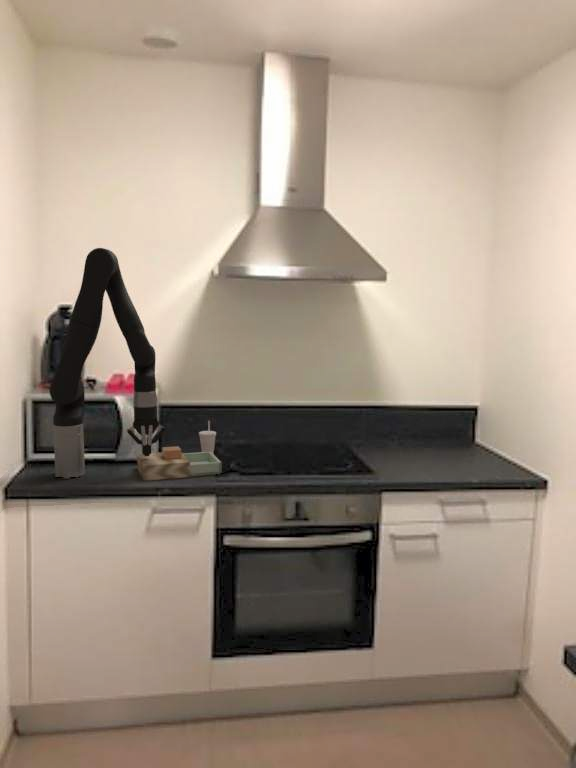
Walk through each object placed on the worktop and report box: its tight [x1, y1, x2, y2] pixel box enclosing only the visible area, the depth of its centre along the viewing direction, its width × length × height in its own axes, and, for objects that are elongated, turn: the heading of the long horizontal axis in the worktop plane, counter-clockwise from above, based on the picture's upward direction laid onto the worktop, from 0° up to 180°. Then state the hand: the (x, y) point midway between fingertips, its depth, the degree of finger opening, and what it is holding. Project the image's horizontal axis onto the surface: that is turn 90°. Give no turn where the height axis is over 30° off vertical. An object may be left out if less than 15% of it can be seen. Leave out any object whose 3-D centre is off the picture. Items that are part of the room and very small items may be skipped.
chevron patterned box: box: [136, 451, 191, 482], centre depth 217 cm, size 15×16×5 cm
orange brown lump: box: [161, 445, 182, 460], centre depth 218 cm, size 6×6×3 cm
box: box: [182, 451, 223, 478], centre depth 222 cm, size 10×16×4 cm, turn 20°
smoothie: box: [198, 420, 217, 454], centre depth 236 cm, size 6×6×14 cm
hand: (146, 455), depth 215 cm, fingers closed
